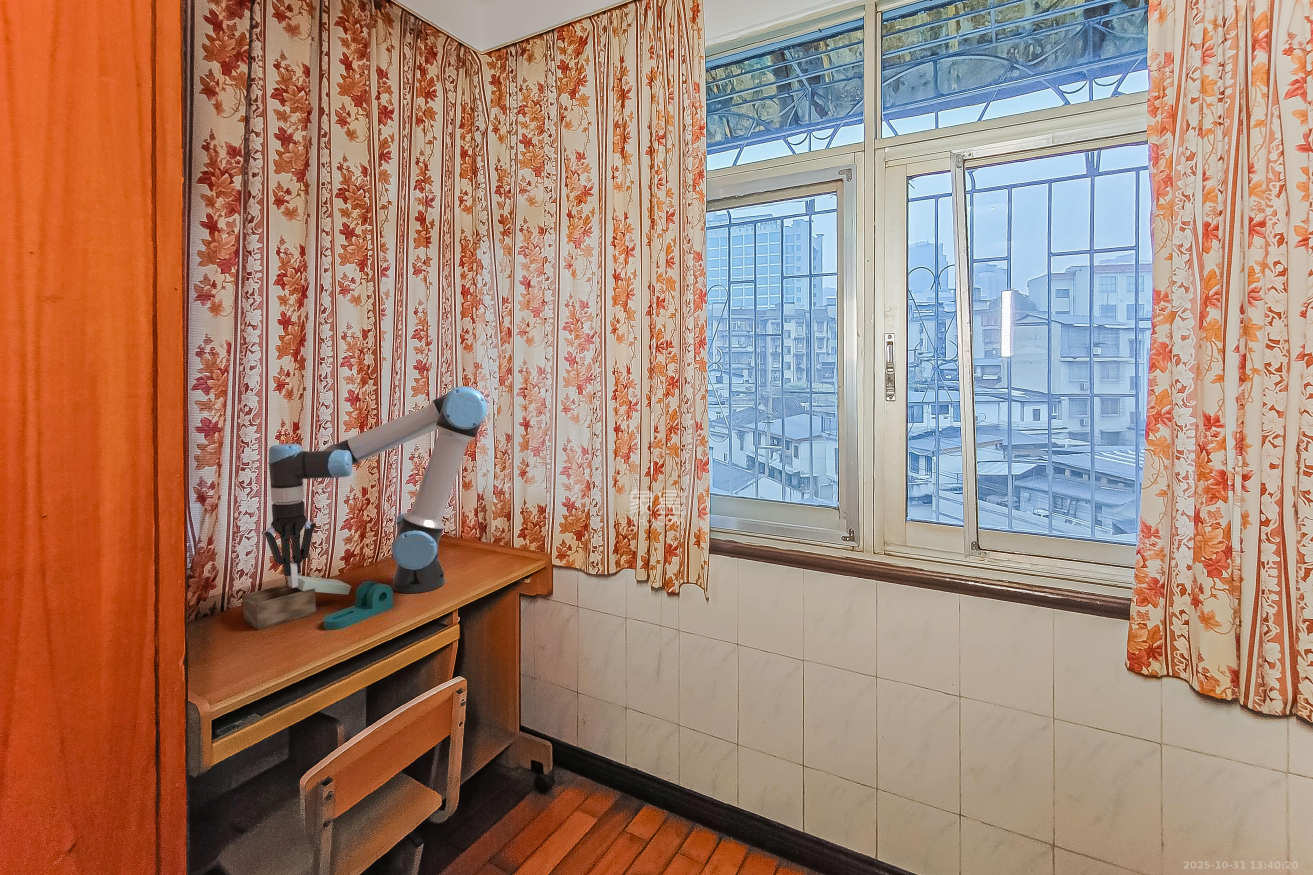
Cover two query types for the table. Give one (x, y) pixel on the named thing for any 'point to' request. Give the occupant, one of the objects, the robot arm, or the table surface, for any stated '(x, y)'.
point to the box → (277, 606)
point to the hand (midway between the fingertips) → (293, 586)
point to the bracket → (362, 606)
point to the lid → (323, 585)
